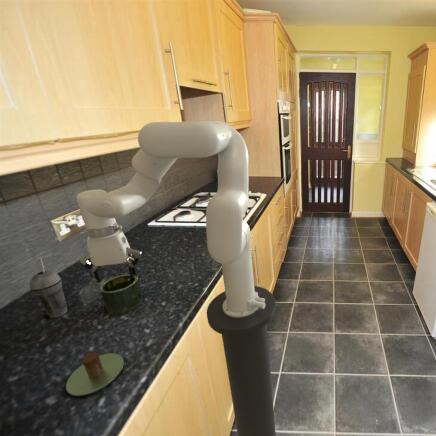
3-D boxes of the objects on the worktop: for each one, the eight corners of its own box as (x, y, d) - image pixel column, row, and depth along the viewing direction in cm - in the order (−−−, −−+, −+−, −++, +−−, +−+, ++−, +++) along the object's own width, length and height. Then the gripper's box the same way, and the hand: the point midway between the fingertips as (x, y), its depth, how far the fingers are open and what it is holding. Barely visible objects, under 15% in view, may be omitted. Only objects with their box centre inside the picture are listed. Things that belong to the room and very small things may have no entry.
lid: (135, 362, 70) (129, 344, 67) (90, 404, 59) (82, 385, 57) (102, 352, 73) (96, 334, 71) (55, 390, 63) (46, 371, 60)
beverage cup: (37, 320, 85) (12, 265, 78) (60, 305, 91) (39, 253, 84) (56, 322, 84) (32, 266, 77) (78, 307, 90) (58, 254, 83)
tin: (149, 297, 95) (144, 277, 92) (123, 317, 86) (116, 295, 83) (127, 292, 98) (121, 272, 95) (99, 310, 88) (91, 289, 85)
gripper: (138, 223, 87) (150, 268, 93) (77, 228, 84) (94, 275, 90) (129, 232, 80) (143, 280, 86) (63, 238, 77) (81, 288, 83)
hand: (118, 278), depth 88 cm, fingers open, 9 cm apart
